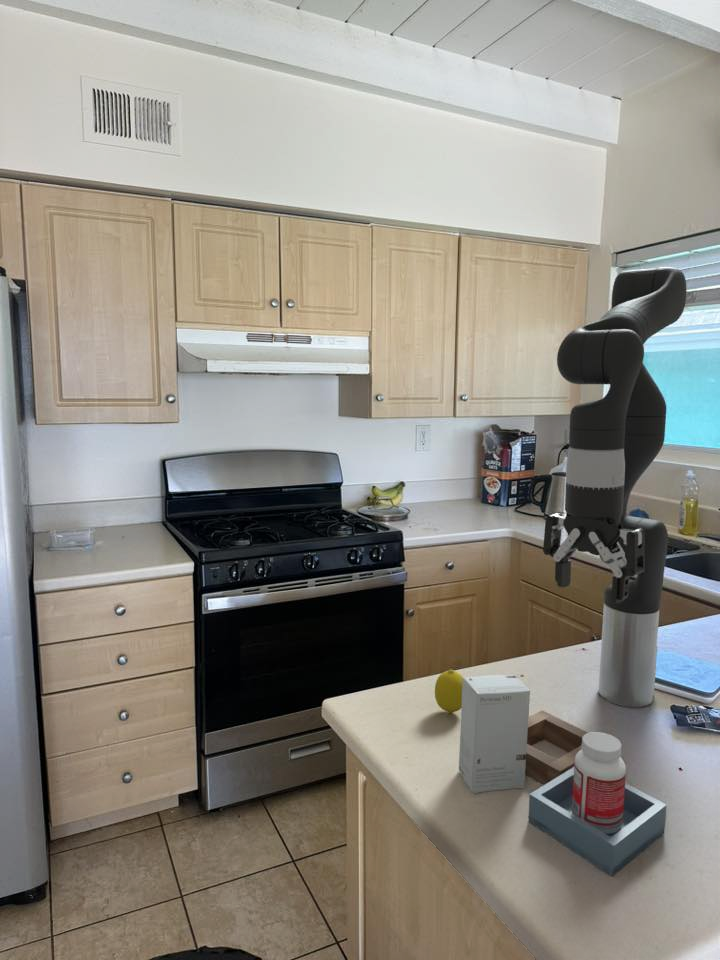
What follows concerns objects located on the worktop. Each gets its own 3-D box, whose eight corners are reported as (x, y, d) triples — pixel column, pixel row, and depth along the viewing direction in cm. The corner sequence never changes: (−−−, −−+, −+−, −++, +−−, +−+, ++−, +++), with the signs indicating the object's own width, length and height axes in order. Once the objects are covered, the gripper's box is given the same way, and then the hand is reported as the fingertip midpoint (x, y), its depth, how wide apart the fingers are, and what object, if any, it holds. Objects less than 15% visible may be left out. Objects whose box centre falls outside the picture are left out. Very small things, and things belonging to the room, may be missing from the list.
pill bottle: (632, 825, 83) (638, 745, 81) (601, 843, 80) (607, 760, 78) (591, 799, 88) (596, 723, 87) (561, 815, 85) (565, 736, 83)
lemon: (430, 718, 111) (431, 673, 110) (439, 703, 116) (439, 660, 115) (462, 724, 109) (463, 679, 108) (469, 709, 114) (470, 666, 113)
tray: (581, 787, 93) (583, 761, 92) (664, 833, 83) (666, 804, 83) (528, 821, 85) (529, 794, 85) (612, 876, 76) (614, 845, 75)
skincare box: (471, 795, 91) (474, 695, 89) (457, 769, 97) (459, 675, 94) (527, 788, 92) (532, 689, 90) (510, 763, 98) (513, 670, 96)
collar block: (541, 730, 108) (542, 710, 107) (607, 763, 98) (608, 742, 98) (492, 755, 100) (493, 734, 100) (558, 794, 91) (560, 771, 90)
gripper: (659, 483, 85) (652, 600, 88) (565, 470, 96) (561, 575, 99) (629, 491, 81) (622, 615, 84) (534, 477, 92) (531, 587, 95)
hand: (589, 593), depth 92 cm, fingers open, 8 cm apart
